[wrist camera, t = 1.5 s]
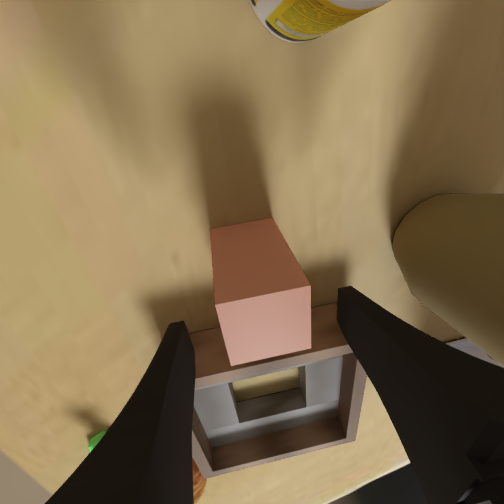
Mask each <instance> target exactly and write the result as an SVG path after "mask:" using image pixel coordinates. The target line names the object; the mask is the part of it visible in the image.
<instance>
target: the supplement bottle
mask: <svg viewBox="0 0 504 504" xmlns="http://www.w3.org/2000/svg"><path fill="white" fill-rule="evenodd" d="M389 1H391V0H250V3H251V5H252V8H253V10H254V12H255V14H256V16H257V17H258V19H259V20H260V22H261V23H262V24H263V25H264V26H265V27H266V29H267V30H268V31H270V32H271V33H272V34H273V35H275V36H276V37H278V38H280V39H282V40H284V41H288V42H294V43H301V42H306V41H310V40H313V39H315V38H318V37H320V36H322V35H324V34H326V33H328V32H329V31H331V30H334V29H336V28H338V27H340V26H342V25H344V24H346V23H348V22H350V21H352V20H354V19H356V18H358V17H360V16H362V15H364V14H366V13H368V12H370V11H372V10H374V9H376V8H378V7H380V6H382V5H384V4H385V3H387V2H389Z"/></svg>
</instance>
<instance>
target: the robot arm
mask: <svg viewBox="0 0 504 504" xmlns="http://www.w3.org/2000/svg"><path fill="white" fill-rule="evenodd" d="M336 320H337V322H338V325H339V327H340V329H341V331H342V333H343V336H344V338H345V340H346V341H347V343H348V345H349V346H350V348H351V350H352V351H353V353H354V355H355V356H356V358H357V359H358V361H359V363H360V364H361V366H362V367H363V369H364V371H365V372H366V374H367V375H368V377H369V379H370V380H371V382H372V384H373V385H374V387H375V389H376V391H377V392H378V394H379V396H380V398H381V400H382V402H383V404H384V406H385V408H386V410H387V412H388V414H389V417H390V419H391V421H392V423H393V425H394V427H395V429H396V431H397V433H398V436H399V438H400V440H401V442H402V444H403V447H404V449H405V451H406V453H407V456H408V458H409V460H410V462H411V465H412V467H413V469H414V471H415V474H416V476H417V479H418V481H419V484H420V486H421V488H422V491H423V493H424V495H425V498H426V500H427V503H428V504H504V367H503V366H502V365H501V364H499V363H498V362H497V361H496V360H494V359H493V358H492V357H490V356H489V355H488V354H487V353H485V352H484V351H483V350H481V349H480V348H479V347H477V346H476V345H475V344H474V343H472V342H471V341H470V340H468V339H467V338H465V339H461V340H457V341H452V342H448V343H443V342H441V341H439V340H437V339H435V338H433V337H431V336H430V335H428V334H426V333H424V332H422V331H420V330H418V329H416V328H415V327H413V326H411V325H410V324H408V323H406V322H405V321H403V320H401V319H400V318H398V317H396V316H395V315H393V314H392V313H390V312H388V311H387V310H385V309H384V308H382V307H381V306H379V305H378V304H376V303H375V302H374V301H372V300H371V299H369V298H368V297H366V296H365V295H363V294H362V293H361V292H359V291H358V290H356V289H355V288H353V287H352V286H348V287H343V288H338V302H337V317H336ZM195 377H196V367H195V350H194V347H193V345H192V342H191V339H190V336H189V334H188V331H187V328H186V325H185V323H184V321H180V322H175V323H171V324H169V326H168V328H167V330H166V332H165V335H164V337H163V339H162V341H161V343H160V345H159V347H158V349H157V352H156V353H155V355H154V357H153V359H152V361H151V363H150V365H149V367H148V369H147V371H146V372H145V374H144V376H143V377H142V379H141V381H140V383H139V384H138V386H137V388H136V389H135V391H134V393H133V394H132V396H131V397H130V399H129V401H128V402H127V404H126V405H125V407H124V408H123V409H122V411H121V412H120V414H119V415H118V417H117V418H116V419H115V421H114V422H113V424H112V425H111V426H110V428H109V429H108V430H107V432H106V433H105V434H104V436H103V437H102V438H101V440H100V441H99V442H98V443H97V445H96V446H95V447H94V448H93V450H92V451H91V452H90V453H89V454H88V456H87V457H86V458H85V459H84V460H83V462H82V463H81V464H80V465H79V466H78V468H77V469H76V470H75V471H74V472H73V474H72V475H71V476H70V477H69V478H68V479H67V480H66V482H65V483H64V484H63V485H62V486H61V487H60V488H59V489H58V490H57V491H56V492H55V493H54V494H53V496H52V497H51V498H50V499H49V500H48V501H47V502H46V503H45V504H194V496H193V467H192V422H193V407H194V393H195Z"/></svg>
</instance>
